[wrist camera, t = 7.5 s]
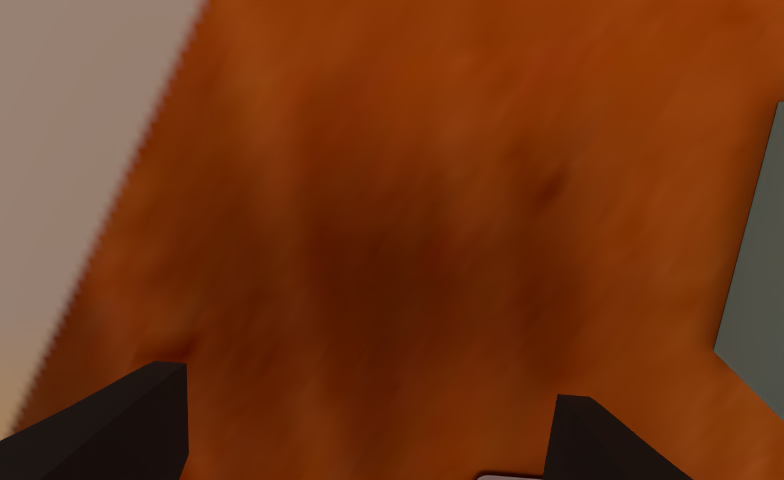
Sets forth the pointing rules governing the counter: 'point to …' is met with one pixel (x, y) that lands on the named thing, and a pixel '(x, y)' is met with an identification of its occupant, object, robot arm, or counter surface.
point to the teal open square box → (760, 285)
